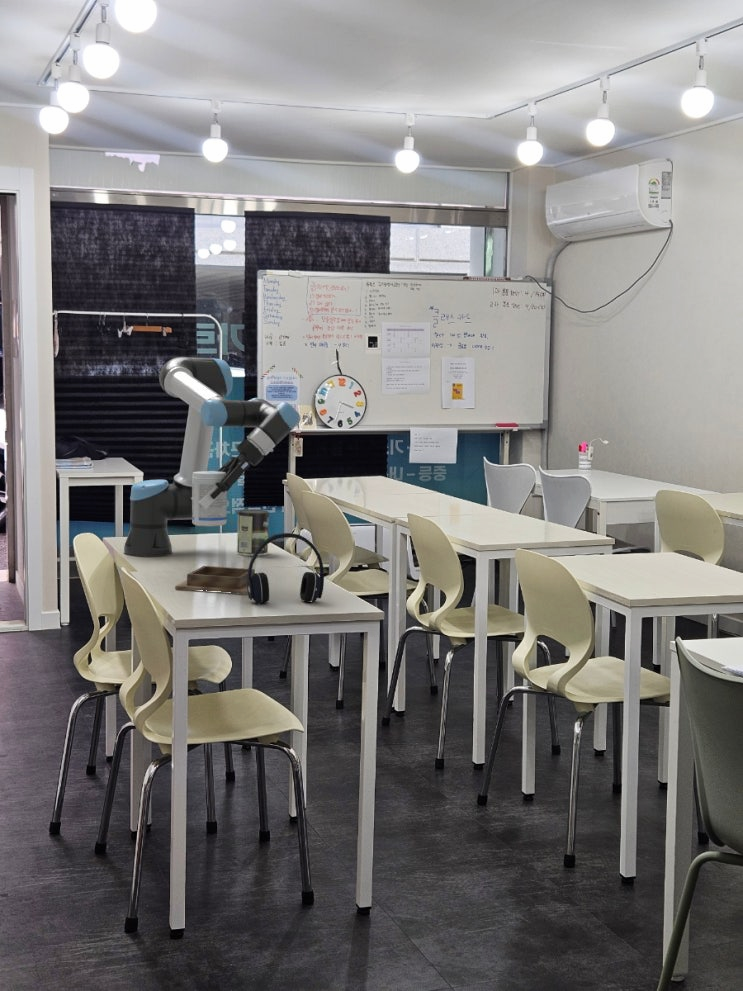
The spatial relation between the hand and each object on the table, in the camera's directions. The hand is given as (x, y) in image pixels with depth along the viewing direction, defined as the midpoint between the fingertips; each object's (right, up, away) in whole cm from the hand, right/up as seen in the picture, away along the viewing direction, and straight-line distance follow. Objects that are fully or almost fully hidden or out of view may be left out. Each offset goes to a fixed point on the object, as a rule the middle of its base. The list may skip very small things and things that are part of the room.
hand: (198, 503), depth 327 cm
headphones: (+25, -26, -18) cm, 41 cm away
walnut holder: (+6, -23, +1) cm, 24 cm away
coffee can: (+9, -17, +60) cm, 63 cm away
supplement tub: (+3, -6, +2) cm, 7 cm away
